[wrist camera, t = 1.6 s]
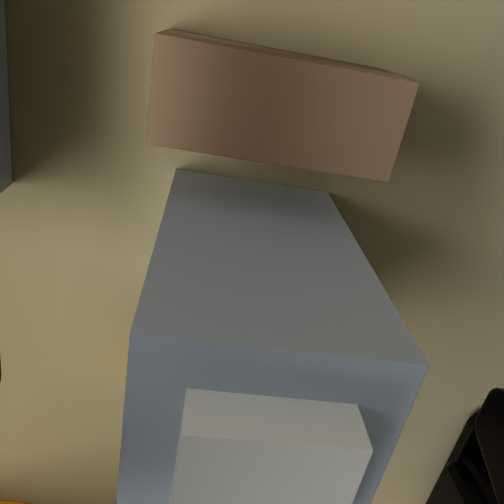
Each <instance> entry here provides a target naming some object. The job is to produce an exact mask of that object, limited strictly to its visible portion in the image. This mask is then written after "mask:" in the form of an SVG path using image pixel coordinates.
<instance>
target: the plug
mask: <svg viewBox="0 0 504 504" xmlns="http://www.w3.org/2000/svg"><path fill="white" fill-rule="evenodd" d="M428 368H429V364H428V362H427V360H426V359H425V357H424V355H423V354H422V352H421V350H420V349H419V347H418V345H417V343H416V342H415V340H414V338H413V337H412V335H411V333H410V331H409V330H408V328H407V326H406V325H405V323H404V321H403V320H402V318H401V316H400V314H399V313H398V311H397V309H396V308H395V306H394V304H393V303H392V301H391V299H390V297H389V296H388V294H387V292H386V291H385V289H384V287H383V286H382V284H381V282H380V280H379V279H378V277H377V275H376V274H375V272H374V270H373V268H372V267H371V265H370V263H369V262H368V260H367V258H366V257H365V255H364V253H363V251H362V250H361V248H360V246H359V245H358V243H357V241H356V240H355V238H354V236H353V234H352V233H351V231H350V229H349V228H348V226H347V224H346V222H345V221H344V219H343V217H342V216H341V214H340V212H339V211H338V209H337V207H336V205H335V204H334V202H333V200H332V199H331V197H330V195H329V194H328V192H325V191H319V190H312V189H306V188H299V187H292V186H286V185H279V184H273V183H266V182H260V181H253V180H246V179H240V178H233V177H227V176H220V175H214V174H207V173H201V172H194V171H187V170H181V169H176V171H175V175H174V178H173V182H172V185H171V189H170V192H169V196H168V200H167V203H166V207H165V210H164V214H163V217H162V221H161V224H160V228H159V232H158V235H157V239H156V242H155V246H154V249H153V253H152V257H151V260H150V264H149V267H148V271H147V274H146V278H145V281H144V285H143V289H142V292H141V296H140V299H139V303H138V306H137V310H136V313H135V317H134V321H133V324H132V328H131V331H130V339H129V351H128V364H127V376H126V389H125V401H124V414H123V426H122V439H121V451H120V464H119V476H118V489H117V501H116V504H371V502H372V499H373V497H374V494H375V492H376V490H377V487H378V485H379V483H380V480H381V478H382V476H383V473H384V471H385V469H386V466H387V464H388V462H389V459H390V457H391V455H392V452H393V450H394V448H395V445H396V443H397V441H398V438H399V436H400V433H401V431H402V429H403V426H404V424H405V422H406V419H407V417H408V415H409V412H410V410H411V408H412V405H413V403H414V401H415V398H416V396H417V394H418V391H419V389H420V387H421V384H422V382H423V379H424V377H425V375H426V372H427V370H428Z"/></svg>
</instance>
